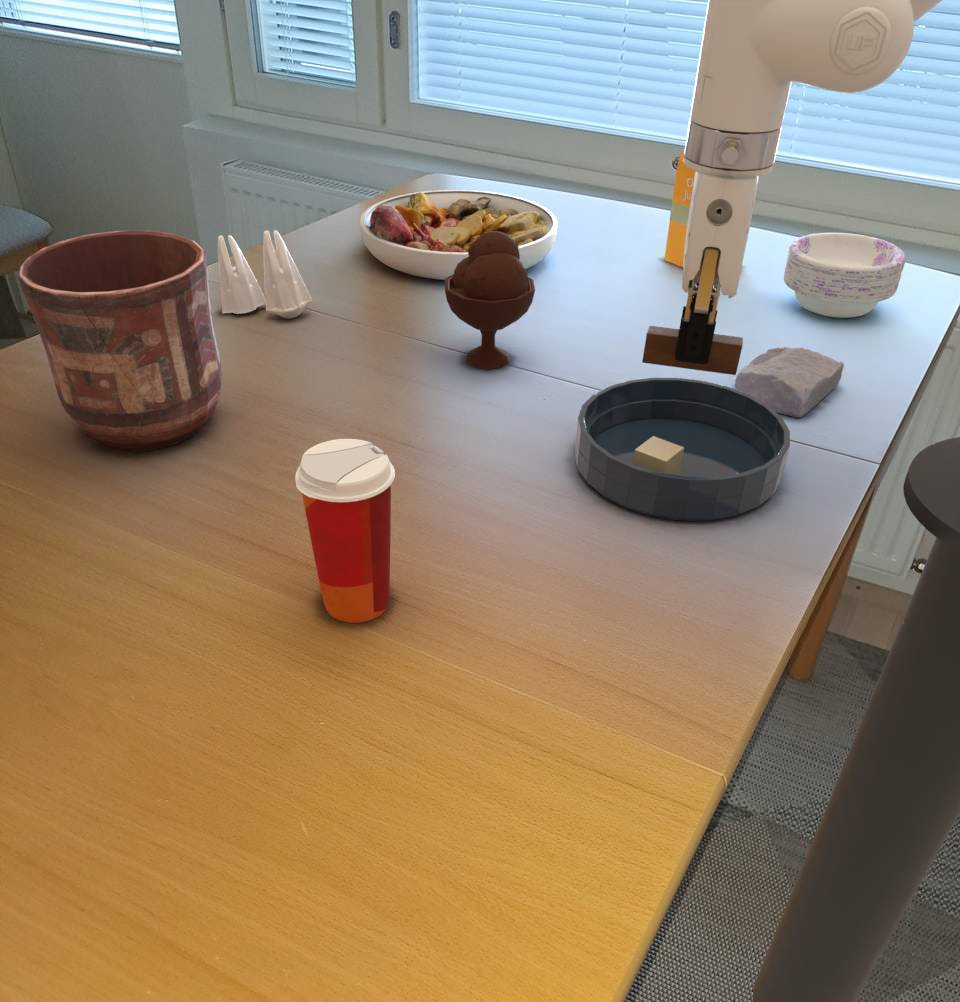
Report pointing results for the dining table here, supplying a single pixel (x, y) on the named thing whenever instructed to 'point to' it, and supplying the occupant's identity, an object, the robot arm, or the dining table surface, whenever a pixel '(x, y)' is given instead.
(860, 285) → the paper bowls
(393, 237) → the bowl
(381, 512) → the paper cup
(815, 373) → the stone block
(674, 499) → the bowl
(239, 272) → the shaker set
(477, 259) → the ice cream bowl
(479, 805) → the dining table surface
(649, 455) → the block
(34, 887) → the dining table surface
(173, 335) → the pottery
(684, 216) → the orange juice
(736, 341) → the brown wooden stick
